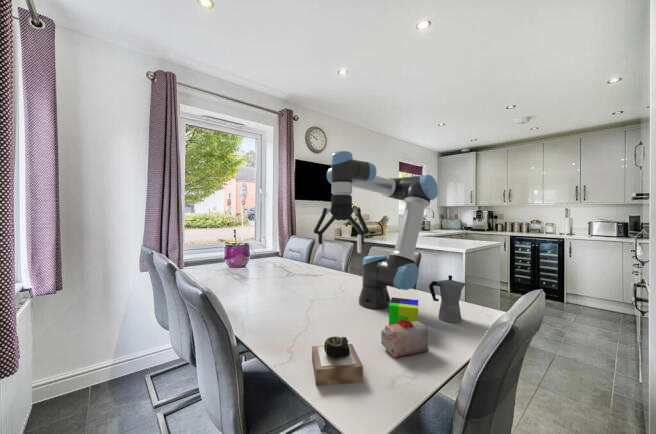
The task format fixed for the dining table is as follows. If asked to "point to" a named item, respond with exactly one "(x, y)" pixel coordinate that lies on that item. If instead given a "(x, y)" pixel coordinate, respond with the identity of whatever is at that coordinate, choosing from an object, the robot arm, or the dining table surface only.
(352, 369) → the base block
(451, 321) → the coffeepot
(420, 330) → the food item
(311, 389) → the dining table surface
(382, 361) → the dining table surface
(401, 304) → the puzzle toy
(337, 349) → the tape measure
